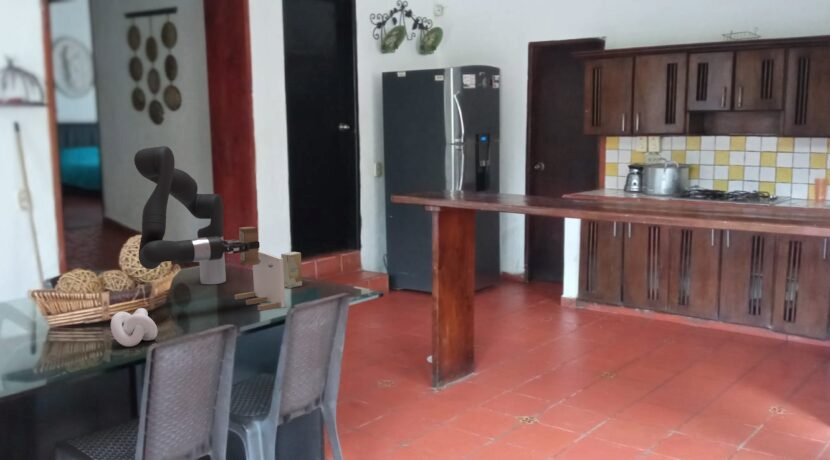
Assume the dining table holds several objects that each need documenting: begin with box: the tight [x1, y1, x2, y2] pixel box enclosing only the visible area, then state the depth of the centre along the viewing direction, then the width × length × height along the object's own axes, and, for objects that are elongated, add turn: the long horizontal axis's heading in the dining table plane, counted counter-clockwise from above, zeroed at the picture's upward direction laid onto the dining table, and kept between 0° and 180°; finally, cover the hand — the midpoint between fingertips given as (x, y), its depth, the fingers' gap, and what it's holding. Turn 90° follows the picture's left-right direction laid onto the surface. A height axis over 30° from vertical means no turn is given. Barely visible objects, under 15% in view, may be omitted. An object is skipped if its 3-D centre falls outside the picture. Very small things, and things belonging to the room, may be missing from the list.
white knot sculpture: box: [110, 307, 159, 348], centre depth 215 cm, size 11×12×9 cm
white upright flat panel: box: [234, 249, 286, 312], centre depth 255 cm, size 22×9×16 cm, turn 35°
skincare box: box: [280, 251, 303, 289], centre depth 279 cm, size 6×4×12 cm
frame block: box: [238, 226, 259, 267], centre depth 252 cm, size 4×5×12 cm
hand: (255, 243), depth 254 cm, fingers closed on frame block, 4 cm apart
